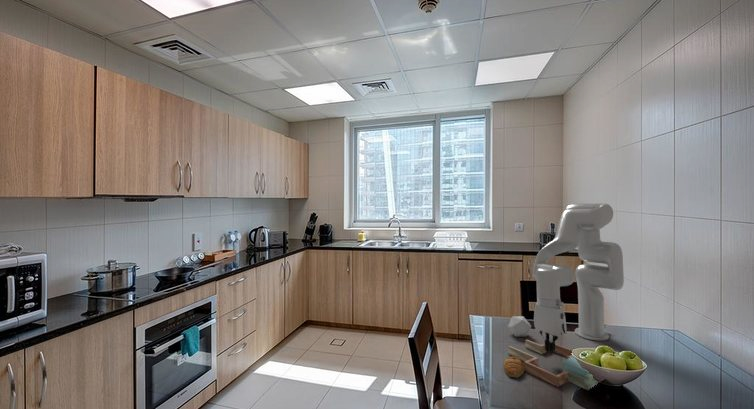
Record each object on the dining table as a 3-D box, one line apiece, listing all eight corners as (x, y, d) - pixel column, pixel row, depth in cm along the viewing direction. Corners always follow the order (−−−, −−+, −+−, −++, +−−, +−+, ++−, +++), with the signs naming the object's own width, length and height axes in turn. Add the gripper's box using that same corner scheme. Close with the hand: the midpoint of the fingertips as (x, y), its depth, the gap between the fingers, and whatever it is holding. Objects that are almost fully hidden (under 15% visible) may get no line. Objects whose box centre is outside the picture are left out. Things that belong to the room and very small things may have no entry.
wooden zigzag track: (535, 343, 132) (535, 334, 133) (615, 374, 107) (614, 362, 107) (498, 357, 120) (497, 347, 120) (577, 396, 95) (577, 383, 95)
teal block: (572, 371, 110) (572, 356, 110) (597, 381, 103) (597, 366, 104) (562, 375, 107) (562, 361, 107) (588, 387, 100) (588, 371, 100)
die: (529, 342, 135) (537, 321, 138) (509, 331, 137) (518, 310, 140) (520, 341, 143) (528, 321, 146) (502, 331, 144) (510, 311, 148)
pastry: (525, 381, 104) (524, 369, 104) (503, 377, 107) (502, 366, 107) (523, 367, 113) (523, 357, 113) (503, 364, 116) (503, 354, 116)
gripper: (575, 305, 111) (576, 356, 111) (535, 295, 124) (537, 341, 124) (563, 309, 107) (565, 362, 107) (523, 298, 120) (525, 346, 120)
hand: (550, 350), depth 116 cm, fingers closed
